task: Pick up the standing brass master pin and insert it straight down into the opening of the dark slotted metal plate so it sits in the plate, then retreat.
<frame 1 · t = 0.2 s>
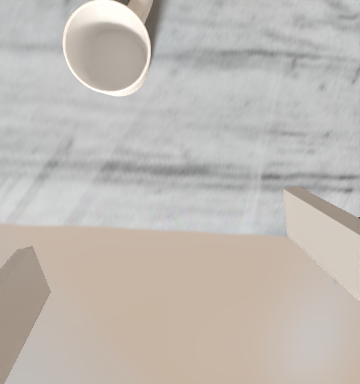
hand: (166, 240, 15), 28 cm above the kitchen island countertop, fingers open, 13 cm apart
mug: (125, 50, 37), on the kitchen island countertop
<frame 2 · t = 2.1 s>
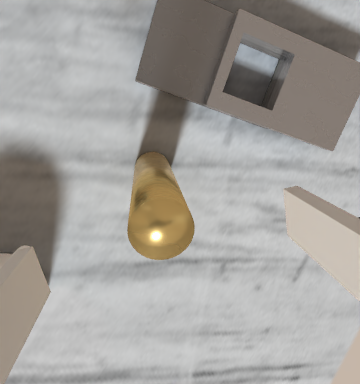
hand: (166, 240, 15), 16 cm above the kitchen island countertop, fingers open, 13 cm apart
master pin: (152, 169, 30), on the kitchen island countertop
slotted metal plate: (246, 76, 28), on the kitchen island countertop
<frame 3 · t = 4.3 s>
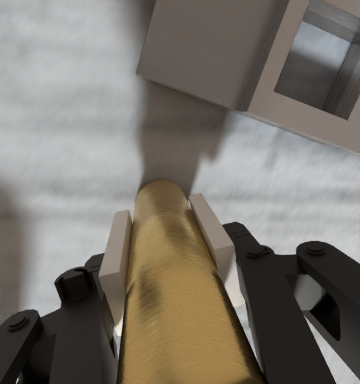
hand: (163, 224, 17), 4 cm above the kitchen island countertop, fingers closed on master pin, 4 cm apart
master pin: (160, 204, 20), on the kitchen island countertop, touching gripper
slotted metal plate: (302, 68, 19), on the kitchen island countertop
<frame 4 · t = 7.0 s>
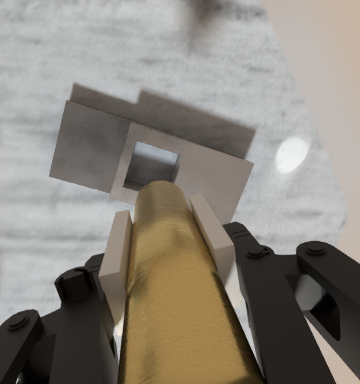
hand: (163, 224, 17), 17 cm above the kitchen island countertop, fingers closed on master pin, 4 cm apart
master pin: (160, 205, 21), point 13 cm above the kitchen island countertop, touching gripper
slotted metal plate: (152, 165, 33), on the kitchen island countertop
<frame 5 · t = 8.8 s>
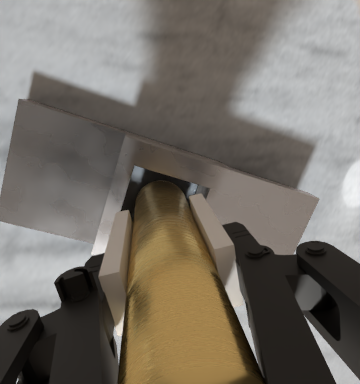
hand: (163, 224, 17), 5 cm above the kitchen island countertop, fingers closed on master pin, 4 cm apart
master pin: (160, 205, 21), point 1 cm above the kitchen island countertop, touching gripper
slotted metal plate: (158, 198, 21), on the kitchen island countertop
when the fingers open (4 cm above the kitchen island countertop, at t = 9.8 s): master pin stays where it is, resting in slotted metal plate.
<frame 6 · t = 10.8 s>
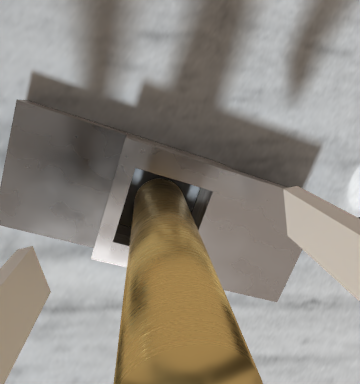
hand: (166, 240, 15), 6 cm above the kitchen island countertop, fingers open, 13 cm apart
master pin: (159, 202, 21), resting in slotted metal plate
slotted metal plate: (160, 201, 21), on the kitchen island countertop
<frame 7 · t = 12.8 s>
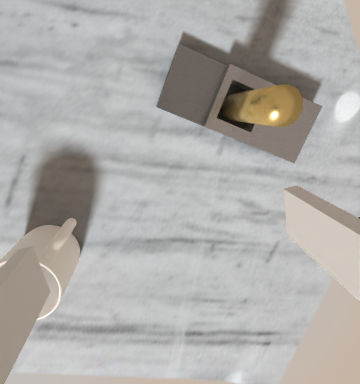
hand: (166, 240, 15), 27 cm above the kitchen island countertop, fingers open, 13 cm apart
mug: (59, 239, 43), on the kitchen island countertop
master pin: (234, 107, 40), resting in slotted metal plate
slotted metal plate: (235, 106, 40), on the kitchen island countertop
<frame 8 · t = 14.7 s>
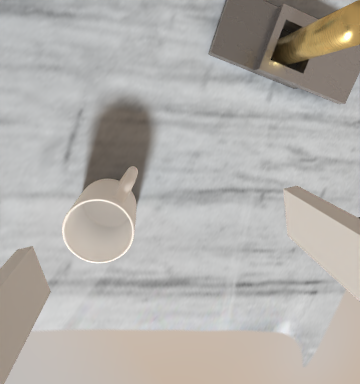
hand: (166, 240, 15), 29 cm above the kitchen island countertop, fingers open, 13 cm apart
mug: (115, 193, 44), on the kitchen island countertop
master pin: (283, 51, 40), resting in slotted metal plate
slotted metal plate: (284, 51, 40), on the kitchen island countertop
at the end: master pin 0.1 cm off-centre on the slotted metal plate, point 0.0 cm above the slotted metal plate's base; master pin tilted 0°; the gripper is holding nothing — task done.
